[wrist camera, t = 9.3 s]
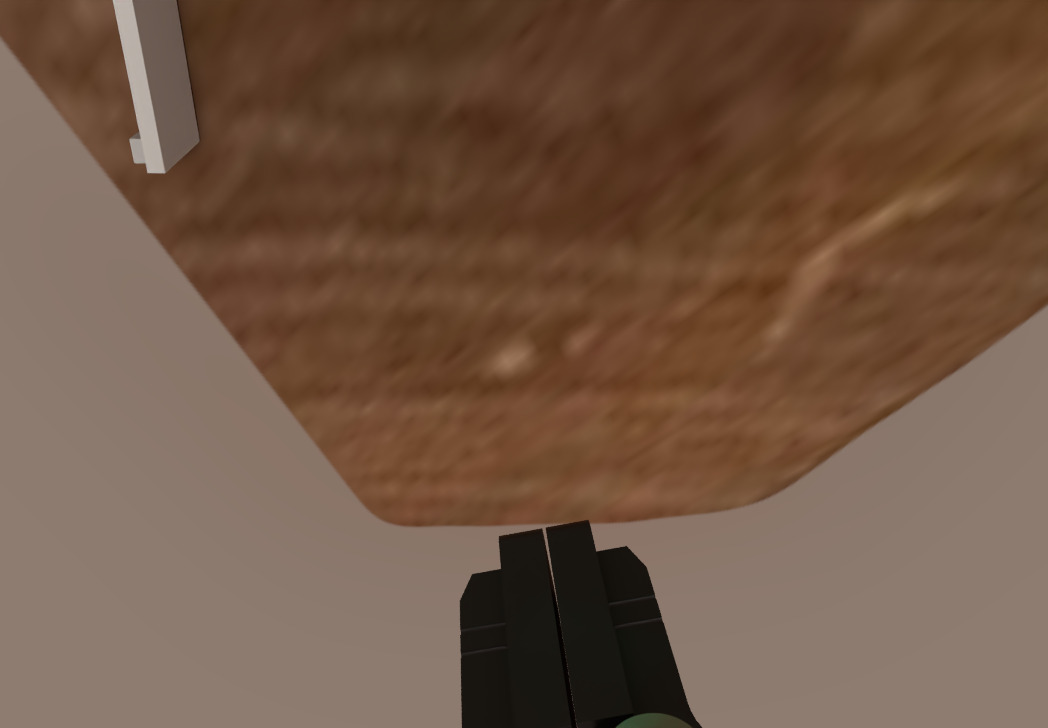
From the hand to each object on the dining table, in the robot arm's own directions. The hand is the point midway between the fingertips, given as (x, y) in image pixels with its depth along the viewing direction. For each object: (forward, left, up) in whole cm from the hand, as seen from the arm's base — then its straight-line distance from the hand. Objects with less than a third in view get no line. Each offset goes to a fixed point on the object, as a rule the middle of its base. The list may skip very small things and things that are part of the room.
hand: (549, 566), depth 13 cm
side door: (+15, -8, -35) cm, 39 cm away
